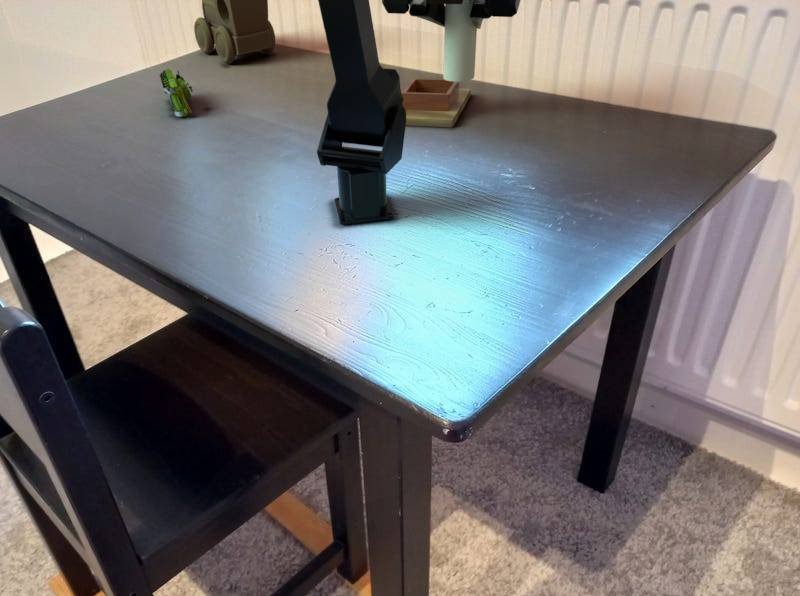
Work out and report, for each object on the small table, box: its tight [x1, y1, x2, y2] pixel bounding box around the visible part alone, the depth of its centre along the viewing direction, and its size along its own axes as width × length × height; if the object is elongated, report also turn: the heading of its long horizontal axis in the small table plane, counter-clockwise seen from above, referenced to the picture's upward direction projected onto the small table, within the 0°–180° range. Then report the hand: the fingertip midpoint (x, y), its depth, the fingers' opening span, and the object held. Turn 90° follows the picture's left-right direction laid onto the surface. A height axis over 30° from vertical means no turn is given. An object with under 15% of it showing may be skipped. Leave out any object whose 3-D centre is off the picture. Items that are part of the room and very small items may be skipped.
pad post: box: [442, 0, 478, 83], centre depth 102 cm, size 5×5×14 cm
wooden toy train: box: [193, 0, 276, 65], centre depth 141 cm, size 20×11×17 cm, turn 31°
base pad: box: [401, 77, 472, 129], centre depth 110 cm, size 14×10×4 cm
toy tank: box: [159, 67, 193, 118], centre depth 123 cm, size 7×19×10 cm
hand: (463, 25), depth 103 cm, fingers closed on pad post, 4 cm apart
